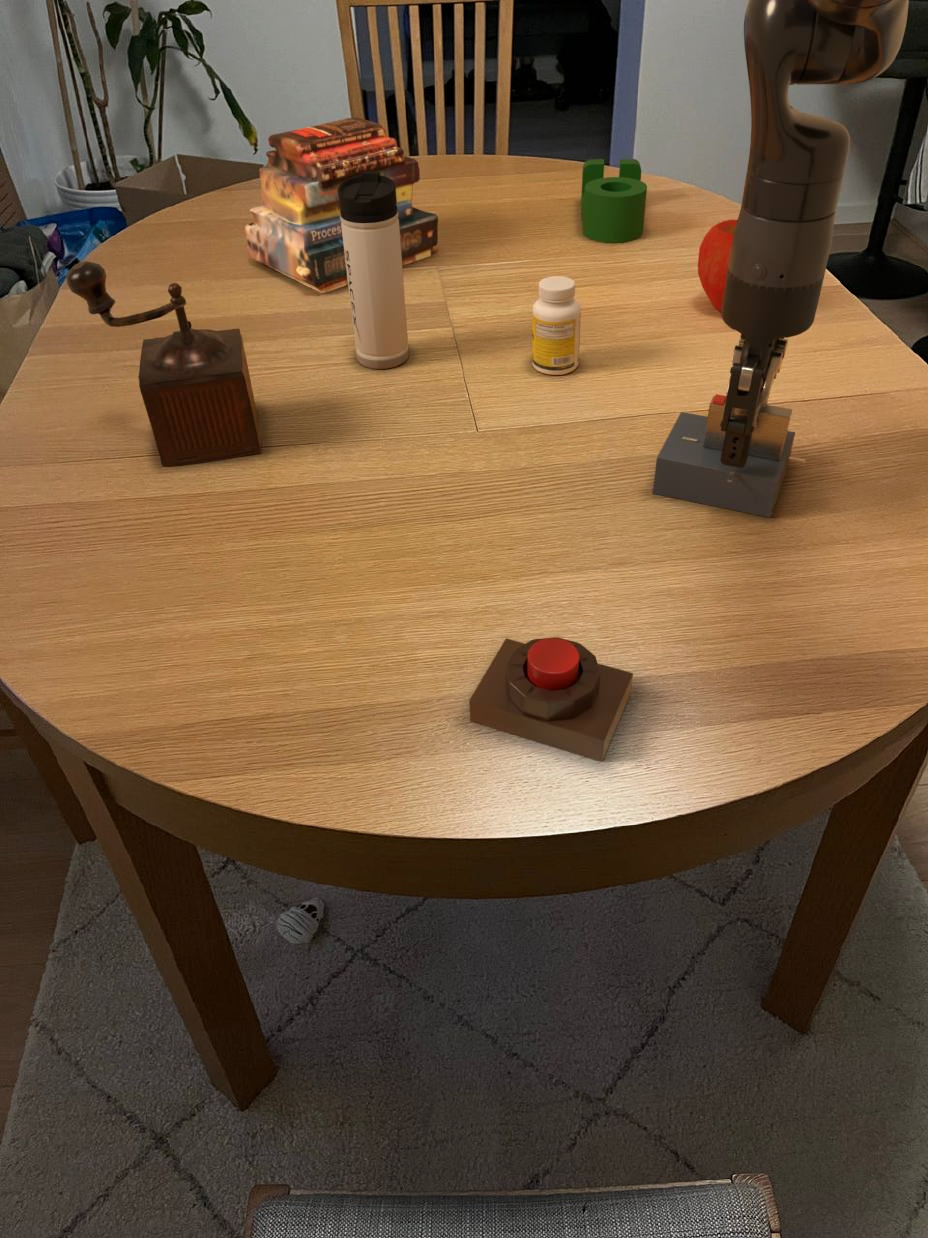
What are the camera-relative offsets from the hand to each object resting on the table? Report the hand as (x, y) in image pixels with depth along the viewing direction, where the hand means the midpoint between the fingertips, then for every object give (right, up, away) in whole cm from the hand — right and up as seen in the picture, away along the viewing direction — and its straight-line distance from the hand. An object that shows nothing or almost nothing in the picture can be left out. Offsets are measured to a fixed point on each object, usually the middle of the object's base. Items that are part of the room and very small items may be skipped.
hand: (742, 440), depth 85 cm
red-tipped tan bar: (0, -1, +1) cm, 1 cm away
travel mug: (-35, +15, +26) cm, 46 cm away
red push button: (-19, -20, -20) cm, 34 cm away
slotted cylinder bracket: (-3, +45, +58) cm, 73 cm away
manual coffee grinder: (-55, +3, +14) cm, 57 cm away
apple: (+8, +23, +33) cm, 41 cm away
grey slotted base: (-1, -3, +4) cm, 5 cm away
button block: (-19, -23, -17) cm, 34 cm away
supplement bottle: (-15, +13, +23) cm, 30 cm away
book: (-43, +36, +50) cm, 75 cm away
